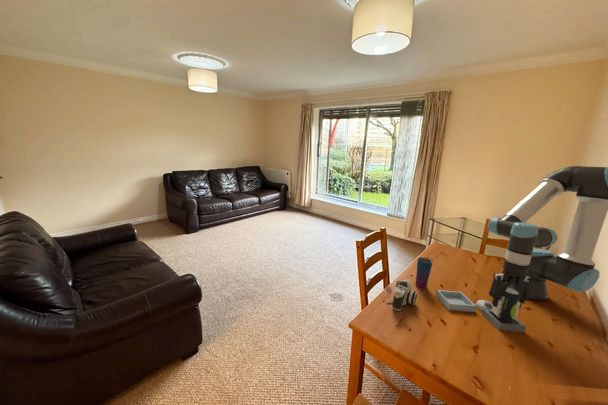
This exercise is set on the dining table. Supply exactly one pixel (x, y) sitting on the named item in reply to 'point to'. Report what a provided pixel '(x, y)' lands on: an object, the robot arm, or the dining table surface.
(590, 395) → the dining table surface
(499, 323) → the grey square frame
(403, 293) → the camera
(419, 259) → the cup
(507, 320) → the beverage can
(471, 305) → the tray
